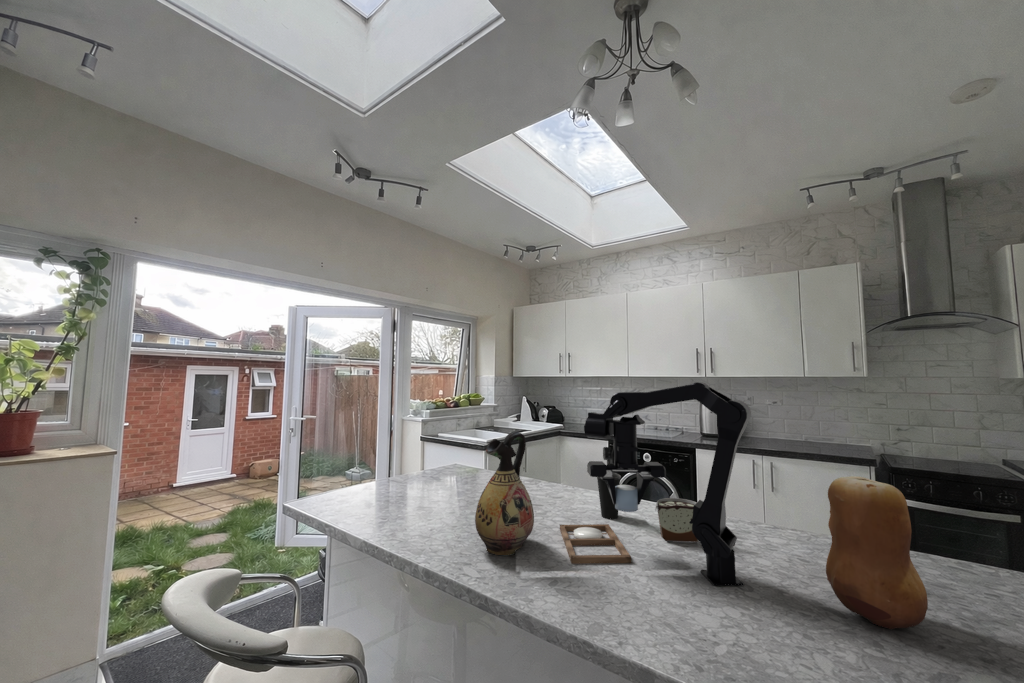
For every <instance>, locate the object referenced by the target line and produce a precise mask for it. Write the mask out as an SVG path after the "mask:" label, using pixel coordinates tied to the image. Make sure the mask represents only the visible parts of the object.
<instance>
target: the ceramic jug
mask: <svg viewBox="0 0 1024 683" xmlns="http://www.w3.org/2000/svg"><path fill="white" fill-rule="evenodd" d="M513 441H517V442H518V446H517V450H516V452H515V450H514V448H513V446H512V442H513ZM526 442H527V441H526V437H525V435H524V434H523V433H522V432H519V431H514V432H513V431H511V432H510V433H508V434H507V435H506V436H505V438H504V441H502V440H501V441H500V439H498V438H497V439H496V438H493V439H492V440H490V441H489V442H488V444H487V445H486V447H485V453H486V454H488V455H491V456H493V457H495V458H497V459H498V460H500V461H499V465H498V467H497V469H496V471H495V472H494V473H493V475H492V476H491V478H490V479H489V481H488V482H487V484H486V486H485V487H484V489H483V491H482V493H480V494H481V495H480V497H479V499H478V502H477V506H476V512H475V516H474V517H475V518H474V522H475V530H476V532H477V534H478V536H479V538H480V539H481V541H482V543H483V544H484V545H485V550H486V549H487V550H486V552H487V551H488V552H489V553H488V552H487V553H488V554H492V555H494V554H495V556H498V555H508V556H510V555H511V556H512V555H515V554H516V551H517V550H519V549H521V548H522V547H523V544H524V542H525V541H526V540H527V539H528V537H529V536H530V535H531V533H532V531H533V530H534V524H535V513H534V507H533V503H532V500H531V497H530V494H529V492H528V490H527V488H526V486H525V485H524V482H523V481H522V480H521V475H520V474H521V465H522V464H523V458H524V455H525V451H526V446H527V443H526ZM514 457H515V458H514ZM512 458H514V461H513V460H512Z"/></svg>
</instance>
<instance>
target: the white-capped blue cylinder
mask: <svg viewBox="0 0 1024 683" xmlns="http://www.w3.org/2000/svg"><path fill="white" fill-rule="evenodd" d="M615 493H616V504H615V508H616V509H617V510H618V511H620V512H626V513H634V512H637V511H638V510H639V505H638V489H637V486H635V485H629V484H620V485H618V486H615Z"/></svg>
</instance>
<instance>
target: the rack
mask: <svg viewBox="0 0 1024 683" xmlns="http://www.w3.org/2000/svg"><path fill="white" fill-rule="evenodd" d="M580 527H591V528H596V529H598V530H600V531H601V532H602V535H607V536H608V538H603V537H602V538H593V539H576V538H569V537H570V536H571V535H573V536H574V533H568V532H574V530H575V529H577V528H580ZM559 531H560V534H561V537H562V540H563V543H564V547H565V549H566V552H567V554H568V557H569V560H570V563H571V565H573V564H577V565H578V564H579V565H580V564H632V556H631V555H630V553H629V552H628V550H627V549H626V547H625V546H624V545H623V543H622V541H621V540H620V539H619V537H618V535H616V533H615V532H614V530H613V528H612V527H611V526H610V525H609V524H607V523H606V524H605V523H603V524H602V523H601V524H600V523H599V524H597V523H596V524H559ZM574 546H577V547H578V546H579V547H581V546H586V547H587V546H589V547H590V546H615V548H616V549H617V551H618V553H619V554H588V555H587V554H584V555H583V554H582V555H581V554H579V555H576V551H575V550H574V548H573V547H574Z"/></svg>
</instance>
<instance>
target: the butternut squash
mask: <svg viewBox="0 0 1024 683" xmlns="http://www.w3.org/2000/svg"><path fill="white" fill-rule="evenodd" d="M827 498H828V502H829V519H828V522H827V523H828V524H827V525H828V528H829V529H828V530H829V532H830V535H831V545H830V548H829V551H828V555H827V558H826V563H825V564H826V565H825V575H826V577H827V578H826V579H827V581H828V583H829V584H830V587H831V589H832V590H833V593H834V594H835V596H836V597H837V599H838V600H839V601H840V603H841V604H842V605H843V606H844V607H845V608H846V609H848V610H849V611H851V612H853V613H854V614H855V615H858V616H860V617H862V618H864V619H866V620H868V621H869V622H871V624H873V625H874V624H876V625H875V626H877V625H878V627H881V626H882V627H881V628H886V629H889V630H891V629H892V630H894V629H909V628H912V627H917V626H918V625H920V624H921V623H923V621H924V620H925V618H926V614H927V610H928V606H929V600H928V593H927V589H926V587H925V585H924V583H923V580H922V578H921V576H920V575H919V572H918V570H917V569H916V567H915V566H914V563H913V561H912V559H911V554H910V553H911V551H910V550H911V544H912V543H911V542H912V532H913V531H912V524H911V516H910V512H909V509H908V508H909V507H908V502H907V500H906V497H905V496H904V494H903V493H902V491H901V490H900V489H898V488H897V487H895V486H894V485H892V484H889V483H885V482H880V481H876V480H873V479H870V478H867V477H862V476H850V475H849V476H841V477H840V476H839V477H837V478H835V479H833V481H832V482H831V483H830V485H829V487H828V490H827Z"/></svg>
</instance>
